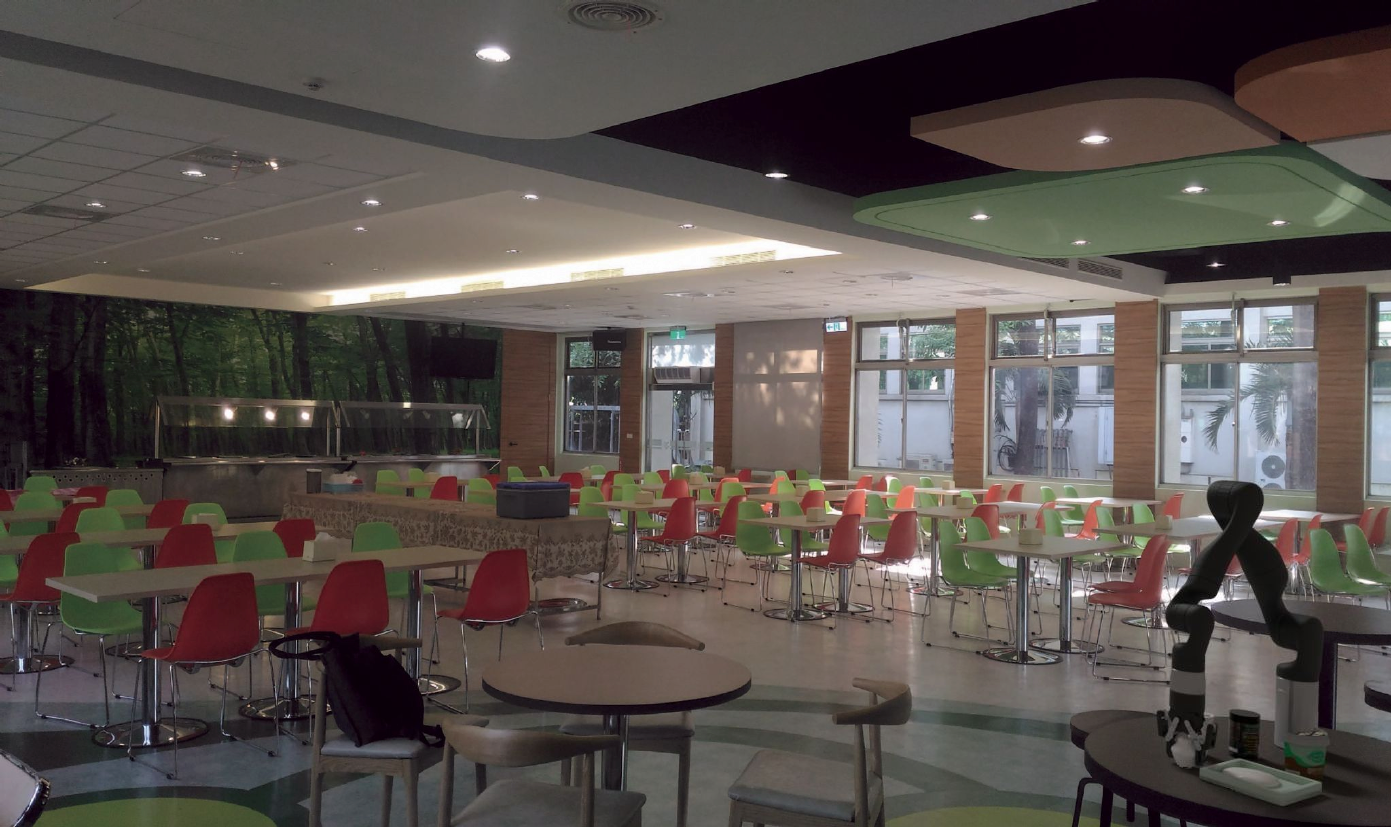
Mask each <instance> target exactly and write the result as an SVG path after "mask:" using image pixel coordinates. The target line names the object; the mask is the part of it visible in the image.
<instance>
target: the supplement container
mask: <svg viewBox="0 0 1391 827" xmlns="http://www.w3.org/2000/svg"><path fill="white" fill-rule="evenodd" d="M1261 717H1262V716H1261V714H1260V713H1259V712H1256V711H1252V710H1248V709H1238V708H1232V709H1229V711H1228V741H1227V742H1228V743H1227V746H1228V747H1227V749H1228V750H1227V751H1228V754H1229V755H1230V756H1231V755H1232V756H1231V757H1233V756H1234V758H1235V759H1238V758H1241V759H1245V760H1247V761H1256V760H1258V759H1259V758H1260V747H1261V746H1260V745H1261V744H1260V742H1261ZM1255 759H1256V760H1255Z"/></svg>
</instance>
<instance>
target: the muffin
mask: <svg viewBox="0 0 1391 827" xmlns="http://www.w3.org/2000/svg"><path fill="white" fill-rule="evenodd" d="M1196 750H1197V748H1196V746H1195V743H1194V741H1193V740H1192V739H1191V738H1190V737H1188V735H1183V736H1179V737H1177V741H1176V744H1174V745H1173V746H1172V747H1171V751H1172V753H1173V756H1174V758H1173V759H1174V761H1175V763H1176V765H1177V766H1178V765H1179V766H1178V767H1180V768H1183V767H1188V768H1187V769H1192V768H1191V767H1193V768H1195V766H1196V765H1195V755H1196Z"/></svg>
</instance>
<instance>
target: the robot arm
mask: <svg viewBox="0 0 1391 827" xmlns="http://www.w3.org/2000/svg"><path fill="white" fill-rule="evenodd" d="M1206 503H1207V505H1208V509H1209V511H1210V513H1211V514H1212V516H1213V518H1214V520H1215V522H1216V523H1217V524H1218V526H1219V528H1220V530H1221V533H1220V534H1218V536H1216V538H1215V539H1214V540H1212V541H1211V542H1210V543H1209V544H1208V545H1206V547H1204V548H1203V549H1202V550H1201V551H1200V552H1199V554H1198V555H1197V556H1196V558H1195V560H1194V562H1193V563H1192V567H1191V569H1190V572H1189V574H1188V576H1187V578H1186V581H1185V583H1183V585H1182V586H1181V587H1180V588H1179V589H1178V591H1177V592H1176V593H1175V595H1174V596H1173V597H1172V598H1171V600H1170V601H1169V602H1168V604H1167V606H1166V609H1165V613H1164V618H1165V622H1166V625H1167V626H1168V627H1169V628H1170V630H1173V631H1177V632H1180V633H1181V632H1182V633H1186V634H1188V638H1187V640H1186V641H1183V642H1181V641H1180V642H1176V643H1174V644H1173V646H1172V650H1171V669H1170V676H1169V697H1168V699H1169V701H1168V706H1169V710H1167V709H1166V708H1165V709H1164V708H1163V709H1159V710H1157V711H1156V720H1157V721H1156V724H1157V734H1158V736H1159V737H1162V738H1164V739H1165V741H1166V746H1165V747H1166V748H1165V749H1166V750H1165V752H1166V755H1167V758H1169V759H1175V758H1174V756H1173V753H1172V751H1171V747H1172V746H1173V745H1174V744H1176V742H1177V741H1176V740H1177V738H1178V736H1179V734H1180V733H1184V734H1185V735H1187V736H1188V735H1190V737H1191V739H1192V740H1193V741H1194V743H1195V746H1196V748H1197V750H1196V755H1195V765H1194V766H1196V767H1200V768H1201V767H1203V766H1204V765H1205V764H1206V761H1207V758H1206V757H1207V756H1206V750H1208V751H1209V750H1212V749H1213V750H1214V749H1215V748H1216V742H1217V736H1218V730H1219V725H1218V723H1216V722H1212V723H1210V722H1207V721H1206V720H1205V717H1204V712H1206V695H1207V694H1206V688H1207V687H1206V686H1207V680H1206V654H1207V650H1208V648H1209V645H1210V641H1211V638H1212V635H1213V632H1214V629H1215V624H1216V622H1215V621H1216V620H1215V616H1214V612H1213V611H1212V610H1211V608H1209V607H1208V606H1206V605H1203V604H1199V603H1200V602H1202V601H1207V600H1208V601H1209V600H1213V599H1215V598H1216V597H1217V595H1218V594H1219V591H1220V589H1221V587H1222V584H1223V581H1224V579H1225V576H1226V574H1227V571H1228V568H1229V567H1230V564H1231V563H1232V561H1233V558H1234V557H1236V558H1237V561H1238V562H1239V565H1240V568H1241V571H1242V572H1243V574H1244V576H1245V578H1246V580H1247V581H1248V584H1249V585H1250V587H1251V590H1252V592H1253V594H1254V597H1255V598H1256V601H1257V603H1258V606H1259V608H1260V611H1261V614H1262V618H1263V620H1264V623H1265V625H1266V626H1265V627H1266V629H1267V633H1268V634H1269V635H1268V636H1269V637H1270V638H1271V641H1272V642H1273V643H1274V644H1275V645H1276V646H1277V647H1279V648H1283V649H1287V650H1290V651H1295V652H1296V657H1295V659H1294V660H1291V661H1287V662H1281V663H1278V664H1277V665H1276V667H1275V668H1276V669H1275V700H1274V702H1275V706H1274V710H1275V711H1274V736H1273V737H1274V739H1273V742H1274V745H1275V746H1276V747H1278V748H1282V749H1284V742H1283V741H1282V739H1283V735H1284V732H1286V733H1290V734H1295V733H1298V732H1311V731H1313V727H1315V728H1318V729H1319V688H1320V687H1319V685H1320V684H1319V683H1320V682H1319V680H1320V673H1321V669H1322V666H1323V665H1322V664H1323V654H1324V653H1323V651H1324V641H1325V630H1324V626H1323V622H1322V621H1321V620H1320V619H1319V618H1318V617H1315V616H1312V615H1308V614H1307V615H1306V614H1301V613H1295V612H1291V611H1290V610H1288V609H1287V607H1286V606H1285V603H1284V601H1283V595H1284V593H1285V590H1286V588H1287V584H1288V583H1289V582H1288V581H1289V571H1288V567H1287V566H1286V564H1285V561H1284V559H1283V557H1282V555H1281V552H1280V551H1279V549H1278V548H1277V547H1276V546H1275V545H1274V544H1272V542H1271V541H1270V540H1269V539H1267V538H1266V537H1265V536H1264V535H1262V533H1260V532H1259V531H1258V530H1256V529H1255V528H1254V525H1255V524H1256V522H1257V520H1258V518H1259V516H1260V515H1261V513H1262V510H1263V509H1264V508H1263V507H1264V504H1265V494H1264V492H1263V489H1262V488H1261V486H1259V485H1258V484H1257V483H1254V482H1250V481H1249V482H1248V481H1240V480H1225V479H1224V480H1223V479H1221V480H1215V481H1213V482H1211V484H1209V486H1208V488H1207V491H1206ZM1169 720H1170V721H1171V724H1170V726H1169ZM1203 726H1204V727H1205V731H1206V736H1204V734H1203V731H1202V727H1203ZM1196 733H1197V735H1196ZM1204 738H1205V739H1204Z"/></svg>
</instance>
